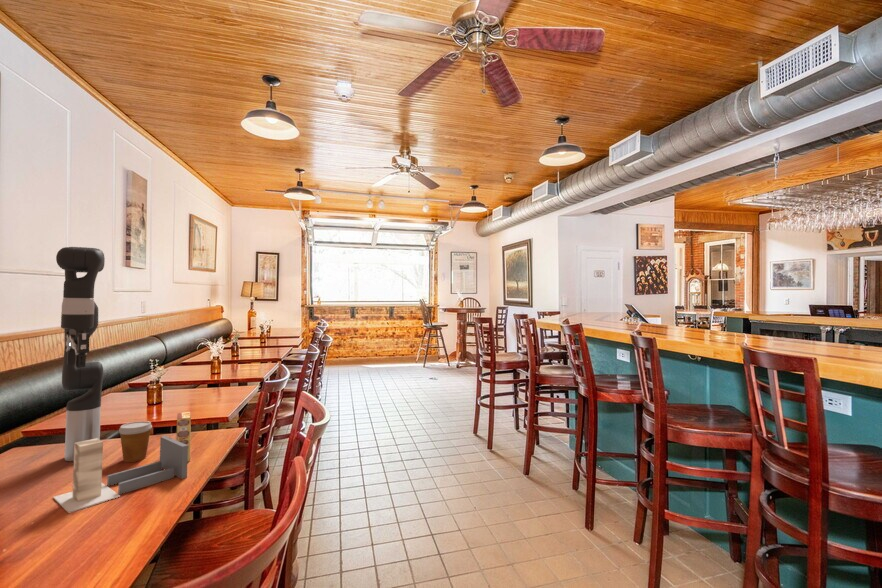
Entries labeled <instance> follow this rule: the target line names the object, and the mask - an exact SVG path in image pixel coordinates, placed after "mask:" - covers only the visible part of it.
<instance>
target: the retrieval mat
mask: <svg viewBox="0 0 882 588" xmlns="http://www.w3.org/2000/svg"><path fill="white" fill-rule="evenodd" d="M72 496H73V491H69V492H65V493H63V494H58V495H55V496H53V498H52V499H54V500H55V502H57V504H59V506H61V507H62V508H63V509H64V511H66V512H67V513H68V514H71V513H74V512H77V511H81V510H83V509H86V508H89V507H90V508H91V507H93V506H96V505H99V504H102V503H106V502H109V501H112V500H111V499H113V500H115V498H116V499H118V497H119V498H121V494H118V493H117V492H116V491H114V490H113V489H112V488H111V487H110V486H107V484H105V483H103V482H102V485H101V496H97V497H94V498H91V499H87V500H84V501H81V502H77V501H76V500H75V499H74V498H73V497H72ZM108 500H109V501H108ZM105 501H106V502H105Z"/></svg>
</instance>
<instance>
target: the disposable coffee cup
mask: <svg viewBox="0 0 882 588" xmlns="http://www.w3.org/2000/svg"><path fill="white" fill-rule="evenodd" d="M152 428H153V425H152V422H151V421H149V420H140V421H132V422H128V423H124V424H122V425H120V426H119V430H118V433H119V434H120V435H119V436H120V444H121V451H122V461H123V462H125V463H135V462H139V461H142V460H144V459H146V458H145V457H147V453H148V448H149V447H148V446H149V440H150V434H151V430H152Z"/></svg>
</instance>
